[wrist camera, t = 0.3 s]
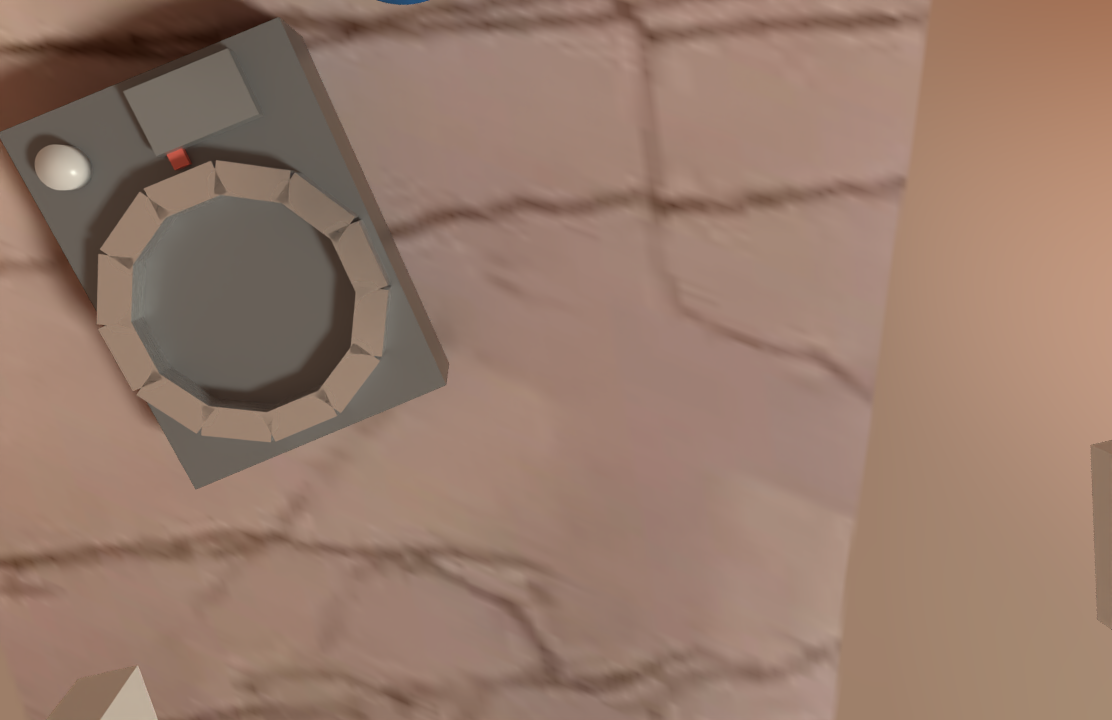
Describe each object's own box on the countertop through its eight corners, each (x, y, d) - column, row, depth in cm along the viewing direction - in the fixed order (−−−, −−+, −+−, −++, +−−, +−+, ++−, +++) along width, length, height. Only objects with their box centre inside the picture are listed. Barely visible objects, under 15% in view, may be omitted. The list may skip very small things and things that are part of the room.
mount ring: (59, 228, 30) (42, 230, 29) (317, 121, 30) (311, 119, 29) (193, 469, 32) (182, 480, 31) (431, 370, 33) (429, 377, 31)
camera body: (53, 138, 33) (-16, 131, 28) (301, 36, 33) (273, 12, 28) (225, 456, 36) (188, 497, 32) (449, 363, 37) (445, 389, 32)
